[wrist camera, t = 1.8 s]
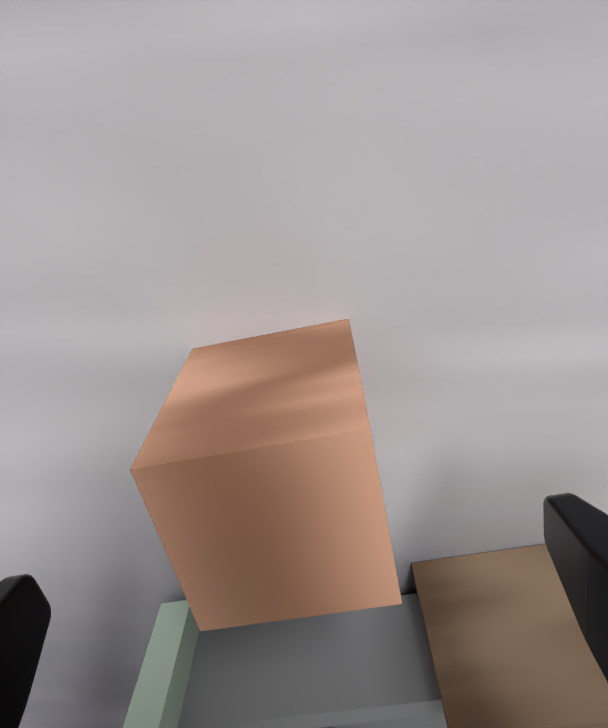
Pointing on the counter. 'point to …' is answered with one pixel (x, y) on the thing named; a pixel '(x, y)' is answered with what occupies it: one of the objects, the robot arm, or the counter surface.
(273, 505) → the block
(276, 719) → the tray
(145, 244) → the counter surface
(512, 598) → the sleeve
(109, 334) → the counter surface
